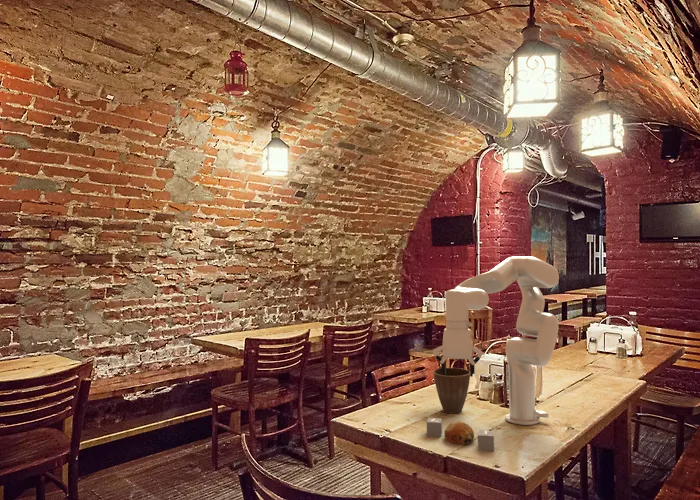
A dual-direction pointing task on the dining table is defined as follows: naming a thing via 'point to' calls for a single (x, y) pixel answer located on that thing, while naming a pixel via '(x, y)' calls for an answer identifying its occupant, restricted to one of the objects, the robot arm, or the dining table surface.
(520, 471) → the dining table surface
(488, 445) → the numbered block 1
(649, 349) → the dining table surface
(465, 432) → the bread roll
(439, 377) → the plant pot
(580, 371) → the dining table surface
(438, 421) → the numbered block 7
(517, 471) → the dining table surface
